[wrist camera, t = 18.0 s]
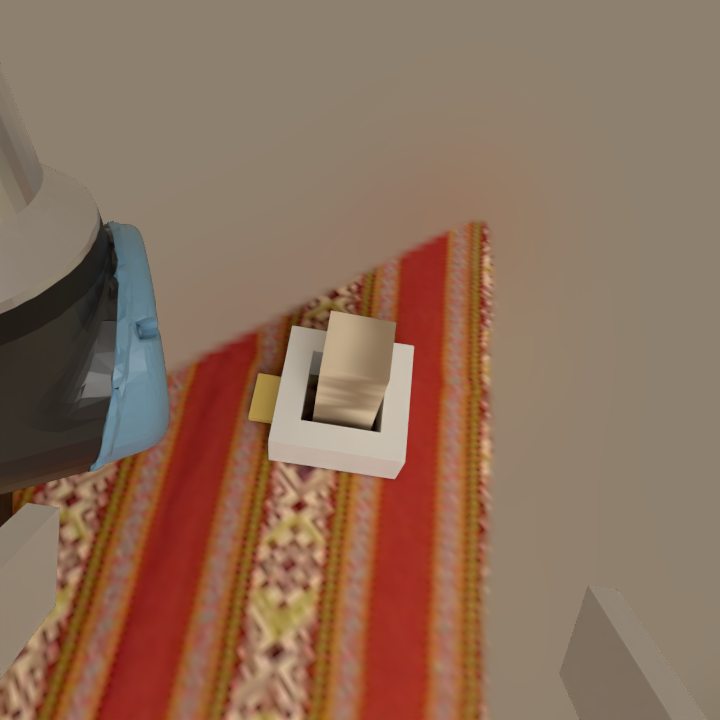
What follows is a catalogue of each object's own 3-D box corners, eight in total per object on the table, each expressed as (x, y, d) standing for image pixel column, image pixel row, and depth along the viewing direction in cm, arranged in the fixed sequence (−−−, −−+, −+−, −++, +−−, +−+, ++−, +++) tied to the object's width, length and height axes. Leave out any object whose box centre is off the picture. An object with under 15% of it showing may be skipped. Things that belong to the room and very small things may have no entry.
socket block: (240, 455, 44) (237, 436, 40) (265, 346, 49) (265, 320, 45) (394, 479, 45) (405, 462, 41) (404, 369, 50) (413, 346, 46)
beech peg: (310, 432, 46) (320, 367, 36) (319, 383, 48) (331, 310, 38) (365, 442, 46) (389, 379, 36) (372, 393, 48) (396, 322, 39)
